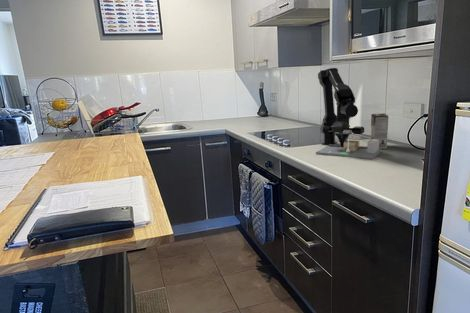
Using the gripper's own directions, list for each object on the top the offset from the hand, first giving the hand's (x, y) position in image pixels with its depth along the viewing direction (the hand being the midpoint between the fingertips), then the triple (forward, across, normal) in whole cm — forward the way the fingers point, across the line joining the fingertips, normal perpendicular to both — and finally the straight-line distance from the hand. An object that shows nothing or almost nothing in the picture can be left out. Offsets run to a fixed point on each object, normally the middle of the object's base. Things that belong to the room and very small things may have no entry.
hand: (342, 147), depth 161 cm
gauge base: (+2, +4, -2) cm, 5 cm away
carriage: (+1, +4, -2) cm, 5 cm away
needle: (0, +6, -8) cm, 10 cm away
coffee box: (+2, +13, +16) cm, 20 cm away
